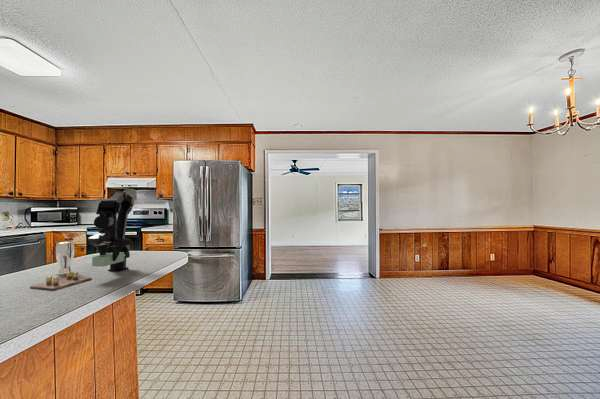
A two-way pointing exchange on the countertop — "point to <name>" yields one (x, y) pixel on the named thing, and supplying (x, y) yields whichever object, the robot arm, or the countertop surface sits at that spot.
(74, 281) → the walnut base plate
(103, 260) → the green board
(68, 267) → the beer glass
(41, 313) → the countertop surface
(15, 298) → the countertop surface
